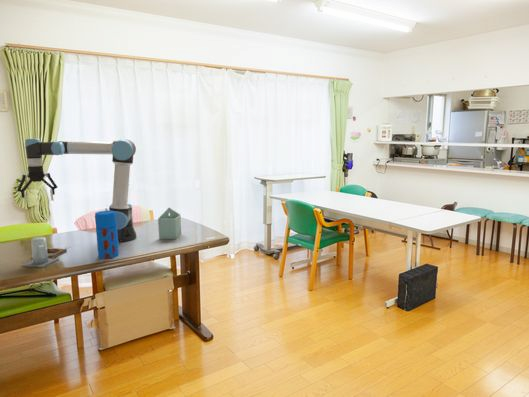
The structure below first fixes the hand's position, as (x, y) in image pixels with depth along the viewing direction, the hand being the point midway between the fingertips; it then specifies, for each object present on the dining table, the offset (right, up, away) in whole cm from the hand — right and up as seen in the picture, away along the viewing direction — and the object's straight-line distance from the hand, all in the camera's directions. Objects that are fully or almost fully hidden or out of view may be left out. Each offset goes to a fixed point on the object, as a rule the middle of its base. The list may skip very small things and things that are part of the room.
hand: (39, 201), depth 220 cm
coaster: (+13, -33, -20) cm, 41 cm away
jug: (+14, -32, -22) cm, 41 cm away
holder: (+10, -30, -7) cm, 33 cm away
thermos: (+44, -31, -9) cm, 55 cm away
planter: (+72, -24, +28) cm, 81 cm away
